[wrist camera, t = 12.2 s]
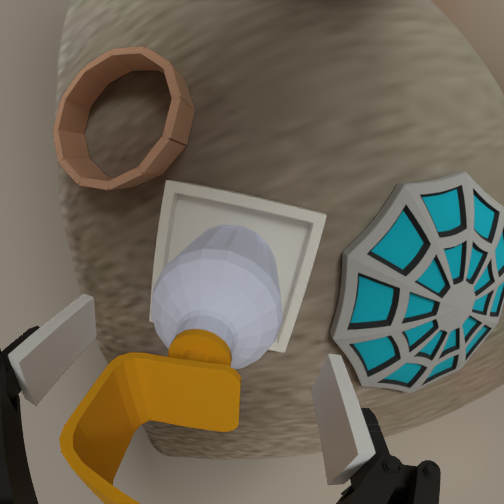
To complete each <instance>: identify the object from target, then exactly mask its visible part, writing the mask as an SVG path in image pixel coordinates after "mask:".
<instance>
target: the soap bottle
mask: <svg viewBox="0 0 504 504" xmlns="http://www.w3.org/2000/svg"><path fill="white" fill-rule="evenodd" d="M151 316H152V319H153V323H154V326H155V329H156V333H157V334H158V336H159V337H160V339H161V340H162V341H163V343H164V344H165V346H166V347H167V348H168V350H169V353H168V357H165V356H159V355H153V354H148V353H135V352H130V353H127V354H123V355H120V356H118V357H116V358H115V359H114V360H113V361H111V362H110V363H109V364H108V366H107V367H106V368H105V370H104V371H103V372H102V374H101V375H100V376H99V378H98V379H97V380H96V382H95V383H94V385H93V386H92V387H91V389H90V390H89V392H88V393H87V394H86V396H85V397H84V398H83V400H82V401H81V403H80V404H79V405H78V407H77V408H76V410H75V411H74V413H73V414H72V415H71V417H70V418H69V420H68V421H67V423H66V424H65V425H64V428H63V430H62V433H61V436H60V446H61V452H62V454H63V456H64V457H65V459H66V460H67V462H68V463H69V465H70V466H71V468H72V469H73V470H74V471H75V473H76V474H77V475H78V476H79V477H80V478H81V480H82V481H83V482H84V483H85V484H86V485H87V486H88V487H89V488H90V489H91V490H92V491H93V493H94V494H95V495H96V496H98V498H99V499H100V500H101V501H102V502H104V503H105V504H140V503H138V502H137V501H135V500H134V499H132V498H130V497H129V496H127V495H126V494H124V493H123V492H121V491H120V490H118V489H117V488H115V487H114V486H113V480H114V477H115V475H116V472H117V470H118V468H119V465H120V463H121V461H122V459H123V456H124V454H125V452H126V449H127V447H128V445H129V443H130V441H131V439H132V436H133V434H134V432H135V431H136V430H137V429H138V428H139V426H140V425H141V424H143V423H145V422H147V421H149V420H151V421H159V422H164V423H169V424H174V425H180V426H185V427H191V428H197V429H204V430H212V431H220V432H227V431H232V430H234V429H235V428H236V427H238V423H239V407H240V388H241V376H240V375H239V374H238V372H237V371H236V370H235V369H240V368H244V367H246V366H247V365H249V364H251V363H253V362H255V361H257V360H259V359H260V358H261V357H262V356H263V354H264V353H265V352H266V351H267V350H268V349H269V348H270V347H271V345H272V344H273V343H274V341H275V340H276V339H277V336H278V333H279V330H280V327H281V324H282V321H283V314H282V301H281V293H280V286H279V280H278V273H277V266H276V260H275V257H274V255H273V253H272V251H271V249H270V247H269V245H268V243H267V242H266V241H265V240H264V239H262V238H261V237H260V236H259V235H258V234H257V233H256V232H254V231H252V230H249V229H247V228H245V227H242V226H239V225H220V226H217V227H214V228H211V229H208V230H206V231H205V232H204V233H202V234H201V235H200V236H199V237H197V238H196V239H195V240H194V241H193V242H191V243H190V244H189V245H188V246H187V247H186V248H185V249H184V250H183V251H182V252H181V253H180V254H178V255H177V256H176V257H175V258H174V259H173V260H172V261H171V262H170V263H169V264H168V265H167V266H166V267H165V268H163V270H162V272H161V273H160V275H159V277H158V279H157V281H156V283H155V285H154V287H153V294H152V305H151Z"/></svg>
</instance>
